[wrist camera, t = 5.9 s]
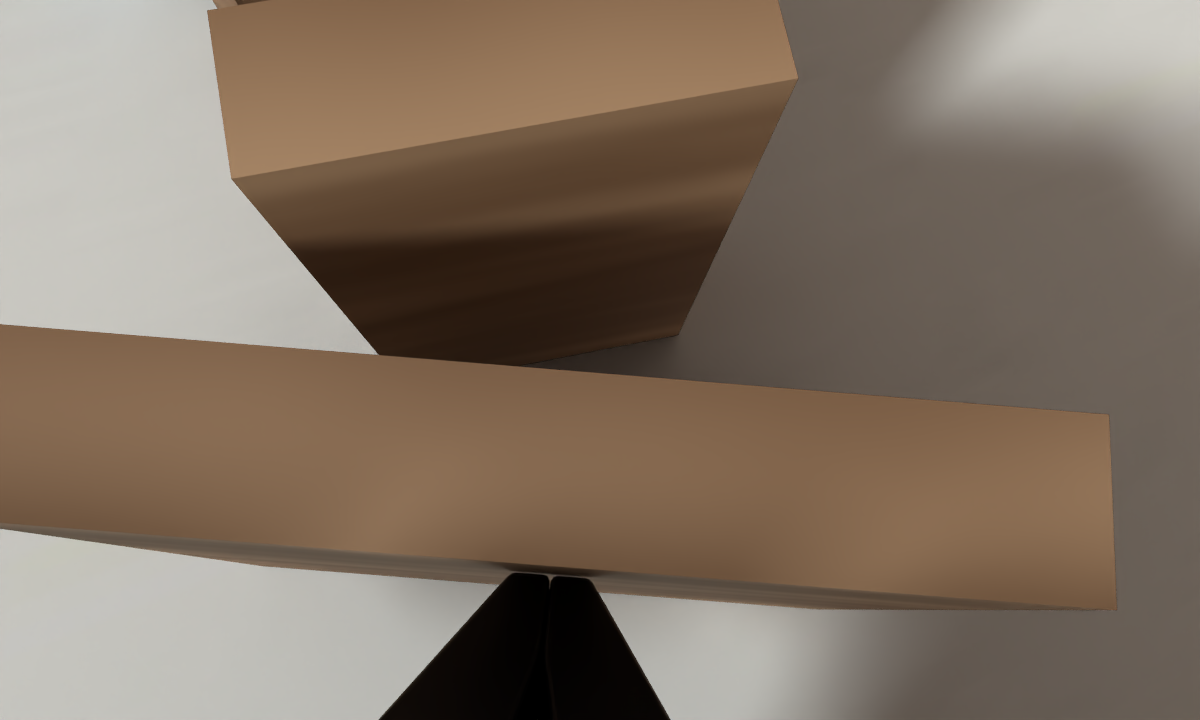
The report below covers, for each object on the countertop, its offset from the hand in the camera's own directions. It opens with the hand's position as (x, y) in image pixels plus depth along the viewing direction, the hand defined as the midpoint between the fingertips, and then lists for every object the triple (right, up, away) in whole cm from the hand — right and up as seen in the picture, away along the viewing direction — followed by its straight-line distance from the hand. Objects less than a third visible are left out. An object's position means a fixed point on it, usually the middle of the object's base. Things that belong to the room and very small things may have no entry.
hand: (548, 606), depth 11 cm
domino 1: (-1, +3, +8) cm, 9 cm away
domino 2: (0, -1, +8) cm, 8 cm away
